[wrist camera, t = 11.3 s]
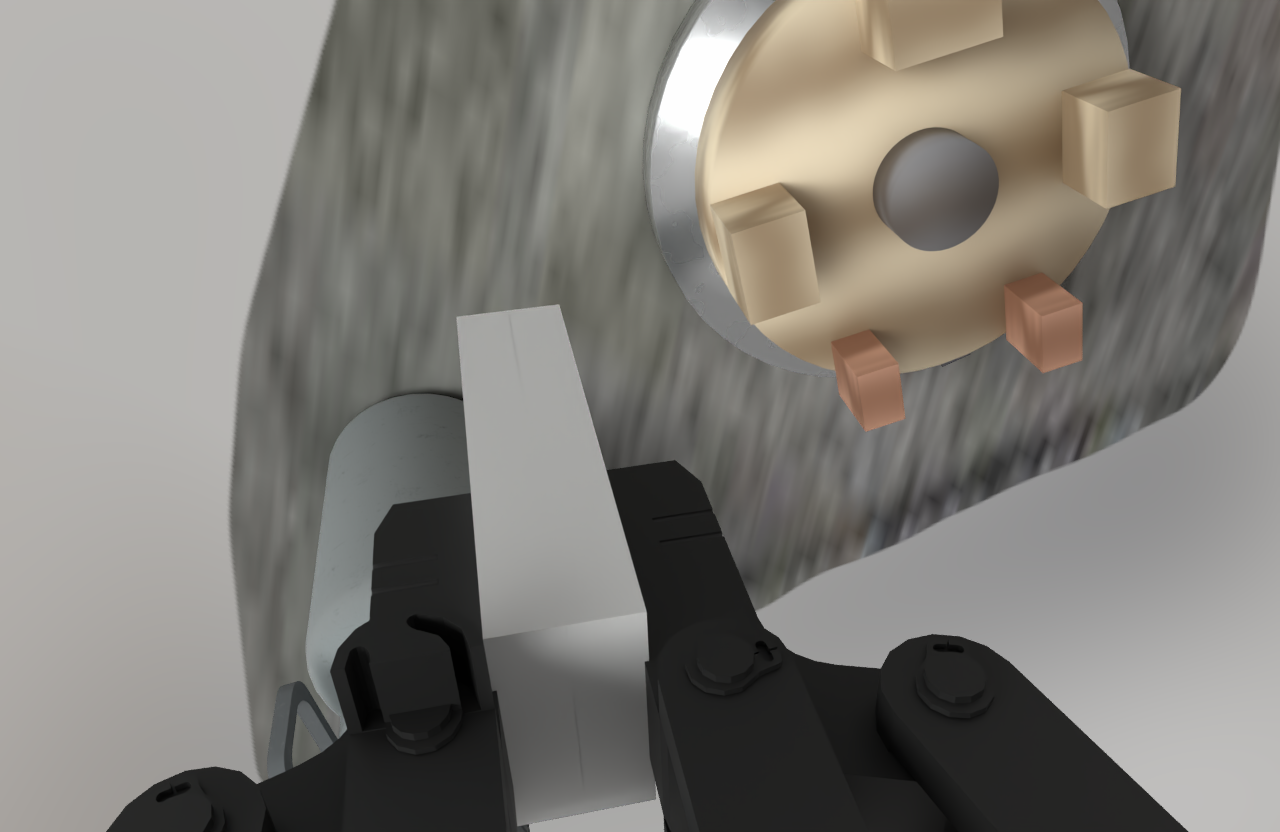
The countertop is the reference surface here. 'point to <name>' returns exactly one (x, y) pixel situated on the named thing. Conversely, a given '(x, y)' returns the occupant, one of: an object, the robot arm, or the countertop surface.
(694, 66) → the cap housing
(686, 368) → the countertop surface
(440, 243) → the countertop surface
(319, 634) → the water bottle
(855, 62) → the ring nut
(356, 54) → the countertop surface
